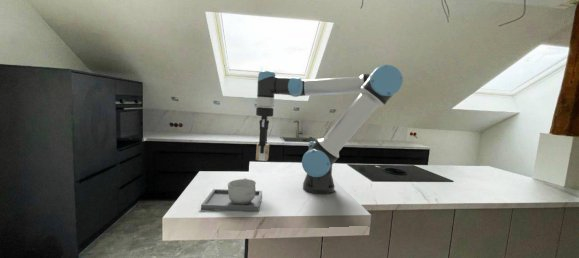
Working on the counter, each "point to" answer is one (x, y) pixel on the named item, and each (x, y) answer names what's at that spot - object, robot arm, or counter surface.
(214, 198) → the tray
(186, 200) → the counter surface
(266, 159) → the oak block
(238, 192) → the teacup
